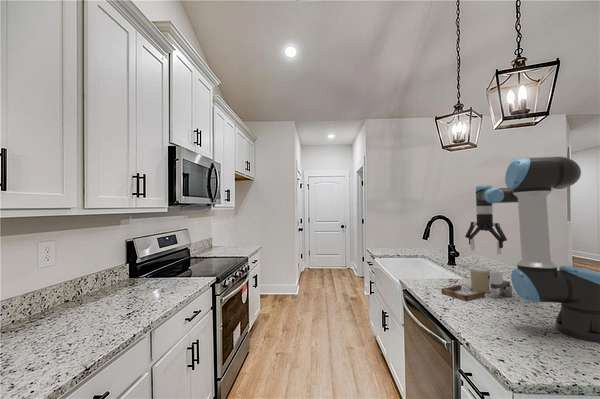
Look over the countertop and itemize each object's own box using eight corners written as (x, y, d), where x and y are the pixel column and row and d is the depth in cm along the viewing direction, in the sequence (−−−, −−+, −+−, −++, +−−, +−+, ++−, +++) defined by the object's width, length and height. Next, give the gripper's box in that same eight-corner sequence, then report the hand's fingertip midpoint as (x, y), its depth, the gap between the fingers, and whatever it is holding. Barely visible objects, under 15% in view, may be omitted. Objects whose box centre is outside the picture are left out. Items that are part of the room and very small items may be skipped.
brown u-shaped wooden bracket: (485, 296, 146) (484, 291, 146) (466, 301, 140) (466, 296, 140) (459, 289, 158) (459, 284, 158) (441, 293, 152) (441, 288, 152)
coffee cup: (494, 294, 149) (493, 270, 150) (474, 293, 151) (473, 270, 151) (486, 288, 159) (485, 266, 159) (467, 288, 160) (467, 266, 161)
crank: (504, 284, 149) (503, 269, 149) (511, 285, 146) (511, 271, 146) (489, 287, 144) (489, 272, 144) (497, 289, 141) (496, 274, 141)
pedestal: (514, 296, 145) (514, 286, 145) (508, 297, 143) (508, 287, 143) (504, 293, 150) (503, 283, 150) (498, 295, 148) (497, 285, 148)
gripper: (513, 213, 149) (515, 254, 149) (465, 212, 171) (466, 248, 171) (506, 214, 146) (508, 256, 145) (458, 213, 167) (459, 250, 167)
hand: (485, 252), depth 158 cm, fingers open, 13 cm apart
